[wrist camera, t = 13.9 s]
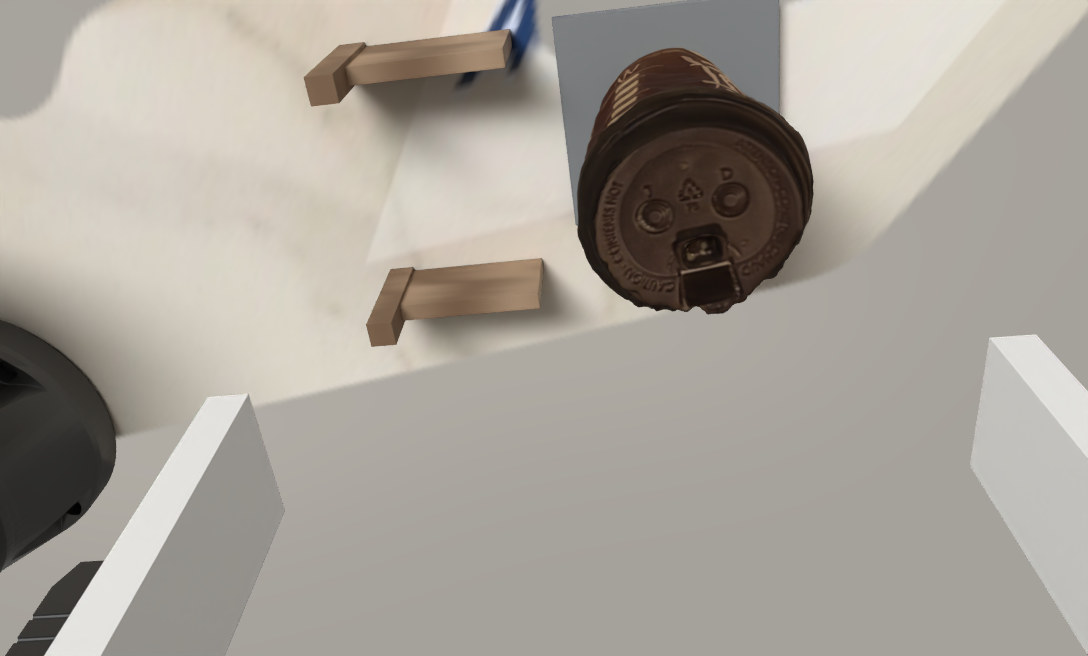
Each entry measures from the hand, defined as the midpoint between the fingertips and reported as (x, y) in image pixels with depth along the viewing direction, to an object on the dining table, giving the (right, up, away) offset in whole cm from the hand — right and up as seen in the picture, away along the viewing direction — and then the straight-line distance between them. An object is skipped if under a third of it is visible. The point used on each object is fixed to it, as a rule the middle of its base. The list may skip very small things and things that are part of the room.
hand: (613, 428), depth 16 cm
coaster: (+5, +12, +27) cm, 30 cm away
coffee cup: (+5, +12, +26) cm, 29 cm away
